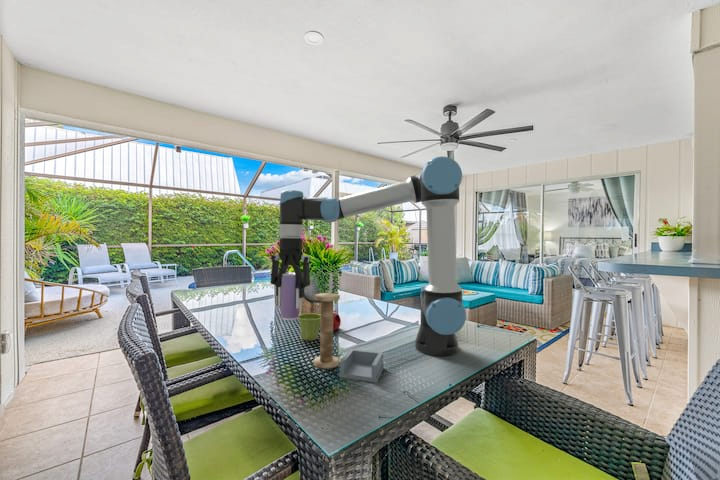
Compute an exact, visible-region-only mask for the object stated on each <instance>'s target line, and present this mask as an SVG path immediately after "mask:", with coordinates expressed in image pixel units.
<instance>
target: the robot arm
mask: <svg viewBox="0 0 720 480" xmlns="http://www.w3.org/2000/svg"><path fill="white" fill-rule="evenodd" d="M462 171H463V170H462V168H461V165H460V164H459V163H458V161H456V160H455V159H453V158H451V157H449V156H436V157H434V158H432V159H430V160H429V161H428V162H426V163H425V164H424V166H423V167H422V169H421V172H420V173H418V174H415V175H413V176H409V177H408V178H407V179H406V180H404V181H400V182H397V183H391V184H389V185H385V186H382V187H378V188H374V189H369V190H366V191H362V192H359V193H354V194H350V195H346V196H343V197H340V198H336V197H332V196H331V197H329V196H326V197H323V196H322V197H320V196H319V197H316V196H315V197H313V196H312V197H307V196H305V195H304V192H303V191H301V190H293V189H292V190H290V189H287V190H286V189H285V190H283V191H281V193H280V200H279V237H280V238H279V241H278V242H279V243H278V245H279V252H278V254H272V255H270V256H271V257H270V258H271V275H270V276H271V277H270V284H271V285H274V286H275V289H276V292H275V295H276V297H277V307H278V308H279V307H280V308H281V276H282V273H283V274H284V273H286V272H287V270H288V268H289V267H290V266H291V267H292V269H293V271H294V272H295V274H296V279H297V283H298V287H297V288H296V308H299V309H300V308H302V307H303V298H304V297H305V289H306V287H309V286H310V285H311V273H310V272H311V271H310V262H311V260H312V259H311V256H310V255H308V256H306V255H304V253H303V238H302V237H303V229H304V221H323V222H325V223H334V222H335V223H336V222H337V221H338V220H342V219H346V218H350V217H354V216H357V215H358V216H359V215H361V214H367V213H369V212H374V211H377V210H381V209H385V208H390V207H393V206H397V205H402V204H405V203H410V202H412V203H414V204H418V203H421V205H423V206H424V207H425V209H426V235H427V238H426V239H427V265H428V266H427V271H428V274H427V275H428V284H422V286H421V287H420V293H419V294H420V326H419V328H418V331H417V335H416V338H415V342H414V343H415V345H414V346H415V349H416V350H418V351H419V352H421V353H424V354H425V355H426V354H427V355H430V356H438V357H439V356H440V357H441V356H442V357H446V356H453V355H456V354H457V353H458V352H459V342H458V338H457V335H456V333H457V332H458V333H459V331H461V329H462V328H463V327H464V326H465V324H466V321H467V320H466V319H467V313H466V308H465V306H464V304H463V288H462V287H461V286H460V285H459V284H458V282H457V281H458V280H457V276H458V275H457V249H456V246H457V245H456V243H457V242H456V215H455V214H456V210H455V209H456V206H457V205H458V204H459V202H460V186H461V184H462V180H463V172H462ZM280 260H281V261H280ZM301 261H302V265H301ZM280 262H281V263H280ZM301 267H302V268H301Z"/></svg>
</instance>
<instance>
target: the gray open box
mask: <svg viewBox="0 0 720 480" xmlns="http://www.w3.org/2000/svg"><path fill="white" fill-rule="evenodd" d="M339 368H340V369H339V372H338V377H339V378H342V379H349V380H356V381H362V382H370V383H378V381H379V379H380V376H381V375H382V372H383V370H384V369H385V363H384V352H382V351H374V350H363V349H357V348H350V349H349V350H348V351H347V352H346V354H345V355H344V356H343V357H342V358H341V359H340V360H339Z"/></svg>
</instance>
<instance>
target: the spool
mask: <svg viewBox="0 0 720 480" xmlns="http://www.w3.org/2000/svg"><path fill="white" fill-rule="evenodd" d="M340 298H341V295H340V294H338V293H334V292H333V293H332V292H325V293H324V292H323V293H317V294H314V296H313V299H314V300H315V301H317V302H320V315H321V316H320V327H319V330H320V332H319V333H320V335H319V336H320V339H319V340H320V341H319V343H320V344H319V349H320V351H319V356H317V357H315V358H313V365H314V367H316V368H317V369H320V370H321V369H323V370H328V369H329V370H330V369H333V368H334V369H335V368H336V367H338V366H340V358H339V357H338V356H335V355H334V331H333V313H334V312H333V311H334V302H336V301H339V300H340Z"/></svg>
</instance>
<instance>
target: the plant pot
mask: <svg viewBox="0 0 720 480" xmlns="http://www.w3.org/2000/svg"><path fill="white" fill-rule="evenodd" d="M320 316H321V314H320V313H302V314H299V316H298V318H297V319H298V323H299V328H300V333H301V334H300V335H301V340H303V341H312V342H313V341H315V340H317V339H318V338H319V336H318V335H319V330H320V327H319V325H320Z"/></svg>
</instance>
